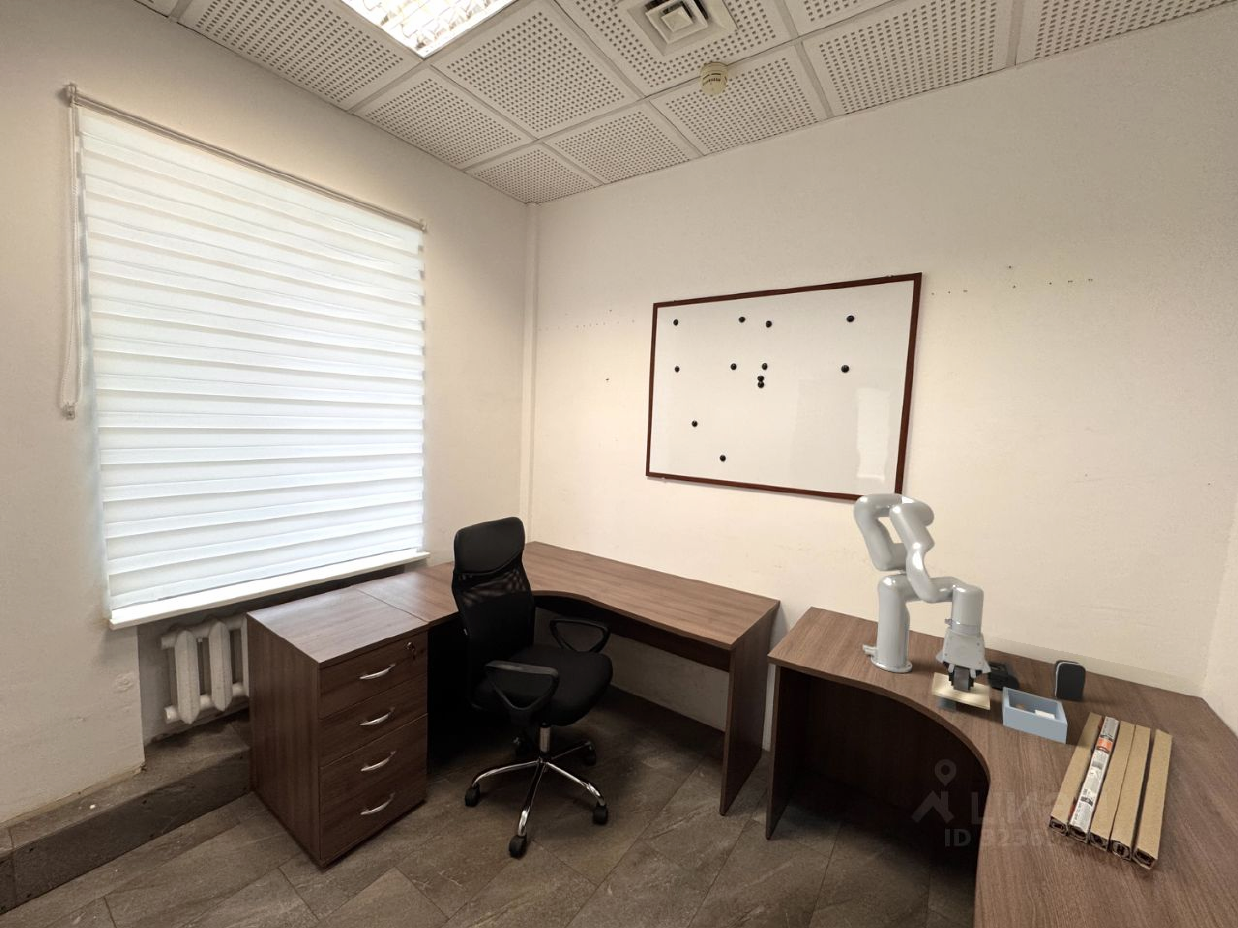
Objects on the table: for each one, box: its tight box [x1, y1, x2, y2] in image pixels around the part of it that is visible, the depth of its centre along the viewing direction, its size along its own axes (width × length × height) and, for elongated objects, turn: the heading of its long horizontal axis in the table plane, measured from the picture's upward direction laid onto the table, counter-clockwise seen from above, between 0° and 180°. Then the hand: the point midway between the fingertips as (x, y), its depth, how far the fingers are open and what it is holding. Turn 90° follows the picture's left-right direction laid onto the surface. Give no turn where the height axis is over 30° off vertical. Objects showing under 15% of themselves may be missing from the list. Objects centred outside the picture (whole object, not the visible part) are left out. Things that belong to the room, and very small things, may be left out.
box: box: [1001, 687, 1068, 745], centre depth 141 cm, size 13×13×6 cm
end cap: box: [986, 661, 1021, 691], centre depth 161 cm, size 10×7×7 cm
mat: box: [937, 696, 958, 713], centre depth 151 cm, size 10×12×1 cm
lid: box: [930, 665, 991, 711], centre depth 151 cm, size 14×14×9 cm
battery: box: [1053, 659, 1087, 702], centre depth 156 cm, size 7×4×11 cm, turn 73°
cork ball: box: [1014, 705, 1027, 711], centre depth 145 cm, size 3×3×3 cm
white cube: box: [1035, 710, 1055, 719], centre depth 138 cm, size 4×4×4 cm
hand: (960, 685), depth 151 cm, fingers closed on lid, 3 cm apart
